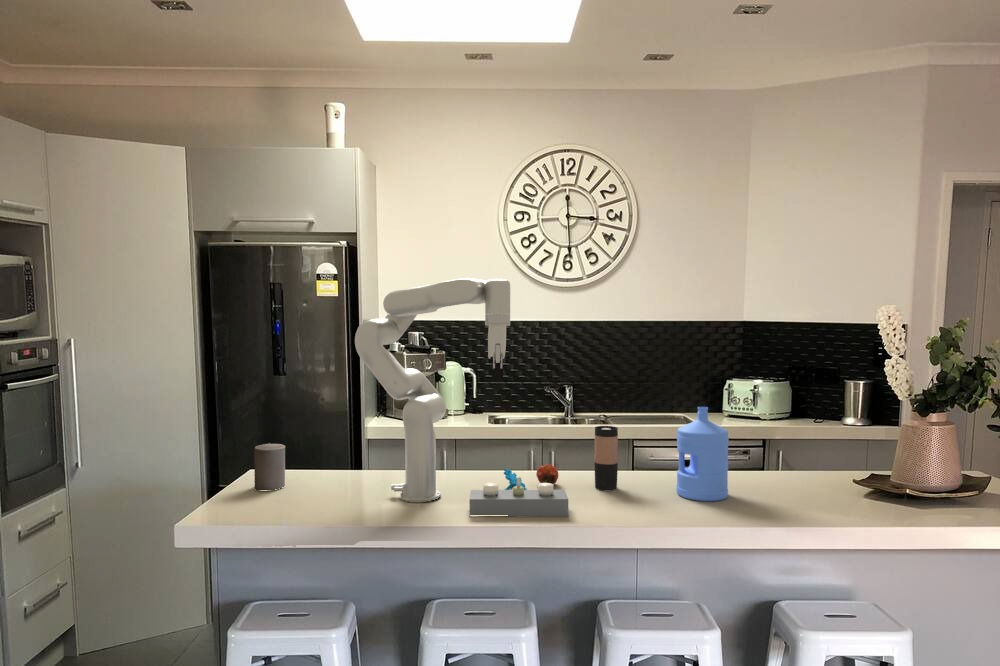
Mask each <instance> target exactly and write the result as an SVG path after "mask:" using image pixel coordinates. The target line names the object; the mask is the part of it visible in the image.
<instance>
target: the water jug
mask: <svg viewBox="0 0 1000 666" xmlns="http://www.w3.org/2000/svg"><path fill="white" fill-rule="evenodd" d="M708 410H709V407H707V406H697V419H696V420H694V421H691V422H689V423H687V424H685V425H682V426H680V427H678V428H677V434H676V441H677V446H676V447H677V448H676V449H677V451H678V470H677V471H676V478H677V479H676V493H677V494H678V495H679V496H680V497H682V498H684V499H687V500H692V501H698V502H719V501H723V500H725V499H727V498H728V496H729V489H728V481H729V478H728V476H729V475H728V474H729V473H728V471H729V440H730V439H729V438H730V437H729V431H728V430H727V429H726V428H724V427H722V426H720V425H718V424H716V423H714V422H711V421H710V420H709V419H708V418H709V417H708V416H709V412H708ZM685 455H689V465H688V467H685V466H686V465H685V463H686V462H685V459H686V458H685Z"/></svg>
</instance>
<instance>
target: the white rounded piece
mask: <svg viewBox="0 0 1000 666" xmlns="http://www.w3.org/2000/svg"><path fill="white" fill-rule="evenodd" d="M537 487H538V488H537V490H538V493H539V494H541V496H551V494H553V490H554V484H551V483H540V482H539V483H538V486H537Z"/></svg>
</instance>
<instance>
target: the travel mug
mask: <svg viewBox="0 0 1000 666" xmlns="http://www.w3.org/2000/svg"><path fill="white" fill-rule="evenodd" d="M618 431H619V429H618V426H612V425H598V426H595V427H594V457H593V458H594V459H593V460H594V462H593V463H594V464H593V465H594V488H595V489H596V490H598V489H599V491H604V490H611V491H615V490H617V489H616V488H618V471H619V470H618V468H619V467H618V465H619V460H618V459H619V456H618V455H619V448H618V447H619V441H618V439H619V437H618V436H619V434H618ZM614 489H615V490H614Z"/></svg>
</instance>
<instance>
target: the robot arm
mask: <svg viewBox="0 0 1000 666" xmlns="http://www.w3.org/2000/svg"><path fill="white" fill-rule="evenodd" d="M481 304H484V307H485V308H484V314H485V315H484V317H485V318H484V325H485V326H487V327H488V332H487V335H488V336H487V347H488V348H487V351H488V354H487V357H488V359H490V360H491V358H492V360H493V361H492V367H491V368H492V369H491V372H492V373H491V374H492V375H491V377H492V378H491V379H492V380H491V381H492V383H503V382H504V368H503V359H505V357H506V350H507V349H506V346H507V326H509V327H510V326H511V283H510V281H509V280H508V279H502V278H500V279H498V278H495V279H494V278H493V279H488V280H483V279H476V278H469V277H466V278H465V277H464V278H458V279H452V280H446V281H440V282H437V283H436V282H435V283H432V284H426V285H422V286H416V287H409V288H404V289H403V288H402V289H398V290H394V291H391V292H389V293H387V294H386V295H385V297H384V299H383V303H382V305H383V310H384V311H385V312H386V314H387V315H386V316H385V317H384V318H371V319H367V320H366V321H363V322H362V323H360V325H359V326H358V327H357V330H356V332H355V336H354V345H355V350H356V352H357V354H358V356H359V358H360V359H361V361H362V362H363V363H364V364H365V366H367V368H368V369H369V370H370V372H371V373H372V374H373V376H374V377H375V378H376V380H377V381H378V382H379V383H380V385H381V386H382V387H383V388H384V390H385V391H386V392H387V394H388V395H389V396H390V397H391V398H392V399H393V400H396V401H403V400H407V399H408V401H407V402H406V403H405V404H404V407H403V409H402V423H403V429H404V448H405V451H404V453H405V454H404V455H405V456H404V458H405V459H404V461H405V462H404V463H405V465H404V467H405V469H404V470H405V471H404V473H405V475H404V477H405V481H404V482H401V483H400V484H398V483H391V486H390V487H391V491H393V492H401V493H400V495H399V496H400V497H401V498H400V499H401V500H402V499H403V500H402V501H404V500H405V501H404V502H408V501H410V502H409V503H426V502H425V501H429V502H432V501H431V500H434V501H436V500H435V499H437V500H438V498H439V497H440V496H441V497H442V494H441V493H442V492H441V491H440V490H437V441H436V440H437V439H436V432H435V428H434V427H435V426H434V423H437V422H440V421H441V420H442V419H443V418H444V417H445V416H446V415H445V414H446V412H447V407H446V406H447V405H446V402H445V400H444V398H443V396H442V395H441V394H440V393H439V391H438V390H437V389H436V388H435V386H434V385H433V384H432V383H431V381H430V380H429V379H428V377H427V376H426V375H425V374H424V373H422V372H421V371H420V370H419V369H417V368H412V367H411V368H405V367H403V365H401V364H400V362H399V361H398V360H397V358H396V357H395V356H394V355H393V354H392V353H391V352H390V351H389V350H387V349H386V347H385V346H388V345H392V344H394V343H397V342H398V341H399V340H400V338H401V337H402V336H403V335H404V333H405V332H406V331H407V330H408V328H409V327H410V325H411V324H412V323H413V321H414V320H415V319H416V318H417V316H419V315H422V314H423V315H424V314H430V313H431V314H432V313H434V312H437V311H438V310H439V309H442V308H446V307H447V308H448V307H452V306H458V305H459V306H460V305H481ZM441 497H440V498H441ZM440 498H439V499H440ZM411 501H412V502H411Z"/></svg>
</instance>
